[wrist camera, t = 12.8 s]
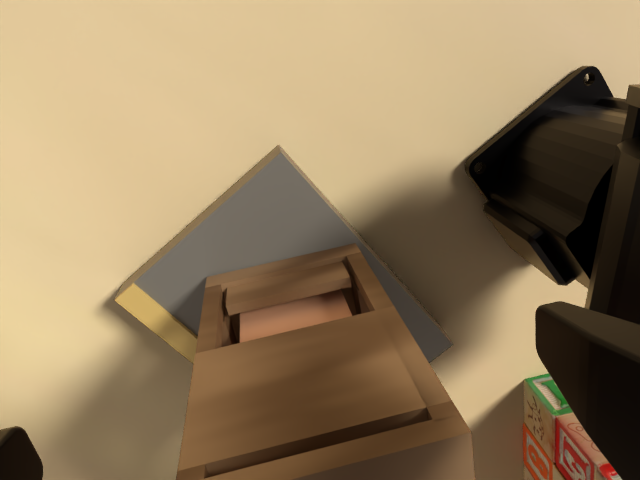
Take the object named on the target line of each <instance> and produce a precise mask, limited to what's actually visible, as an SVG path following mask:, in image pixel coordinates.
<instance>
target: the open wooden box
mask: <svg viewBox="0 0 640 480" xmlns="http://www.w3.org/2000/svg"><path fill="white" fill-rule="evenodd" d="M339 289H341V291H342V293H343V295H344V298H345V300H346V302H347V305H348V307H349V309H350V312H351V314H352V316H350V317H346V318H342V319H338V320H333V321H329V322H325V323H321V324H317V325H313V326H308V327H304V328H300V329H296V330H292V331H287V332H283V333H279V334H275V335H271V336H267V337H262V338H258V339H254V340H250V341H246V342H242V343H240V313H241V312H246V311H250V310H254V309H258V308H263V307H267V306H271V305H275V304H280V303H284V302H288V301H292V300H297V299H301V298H305V297H309V296H314V295H318V294H322V293H326V292H331V291H335V290H339ZM176 480H475V472H474V460H473V447H472V435H471V431H470V429H469V428H468V426H467V424H466V423H465V421H464V420H463V418H462V416H461V415H460V413H459V411H458V410H457V408H456V406H455V405H454V403H453V402H452V400H451V398H450V397H449V395H448V393H447V392H446V390H445V389H444V387H443V385H442V384H441V382H440V380H439V379H438V377H437V375H436V374H435V372H434V371H433V369H432V367H431V366H430V364H429V362H428V361H427V359H426V357H425V356H424V354H423V353H422V351H421V349H420V348H419V346H418V344H417V343H416V341H415V340H414V338H413V336H412V335H411V333H410V331H409V330H408V328H407V326H406V325H405V323H404V322H403V320H402V318H401V317H400V315H399V313H398V312H397V310H396V309H395V307H394V305H393V304H392V302H391V300H390V299H389V297H388V295H387V294H386V292H385V291H384V289H383V287H382V286H381V284H380V282H379V281H378V279H377V277H376V276H375V274H374V273H373V271H372V269H371V268H370V266H369V264H368V263H367V261H366V260H365V258H364V256H363V255H362V253H361V251H360V250H359V248H358V246H357V245H356V243H354V244H349V245H345V246H340V247H336V248H332V249H327V250H323V251H319V252H314V253H310V254H305V255H301V256H297V257H292V258H288V259H283V260H279V261H275V262H270V263H266V264H262V265H257V266H253V267H248V268H244V269H240V270H235V271H231V272H227V273H222V274H218V275H213V276H209V277H207V279H206V286H205V292H204V299H203V305H202V312H201V319H200V325H199V332H198V339H197V345H196V352H195V358H194V365H193V372H192V378H191V385H190V392H189V398H188V405H187V411H186V418H185V425H184V431H183V438H182V445H181V451H180V458H179V465H178V471H177V478H176Z"/></svg>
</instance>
